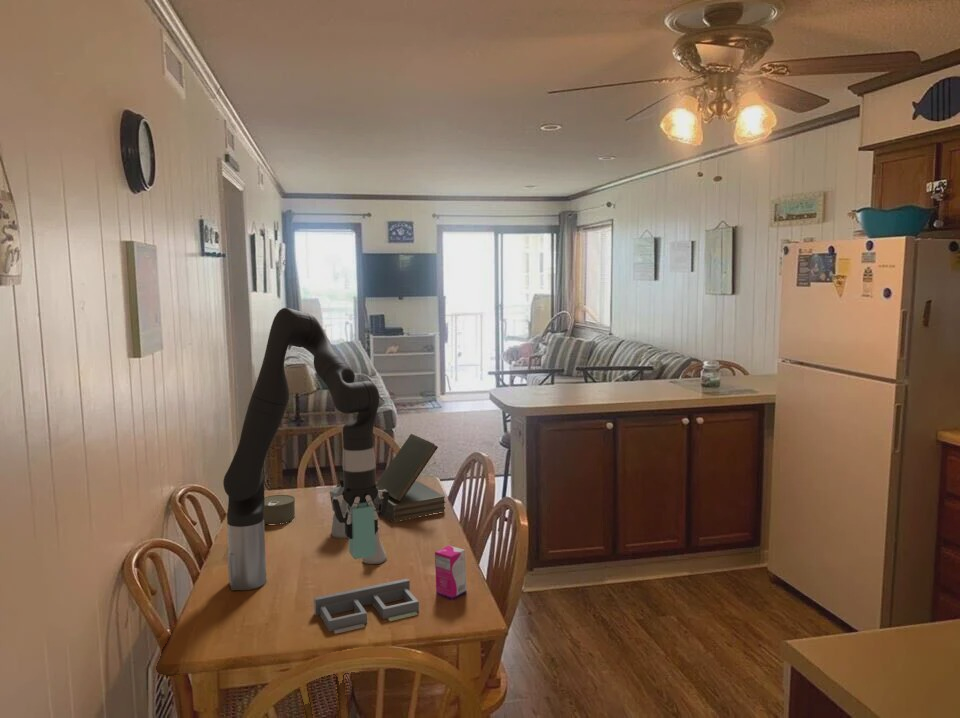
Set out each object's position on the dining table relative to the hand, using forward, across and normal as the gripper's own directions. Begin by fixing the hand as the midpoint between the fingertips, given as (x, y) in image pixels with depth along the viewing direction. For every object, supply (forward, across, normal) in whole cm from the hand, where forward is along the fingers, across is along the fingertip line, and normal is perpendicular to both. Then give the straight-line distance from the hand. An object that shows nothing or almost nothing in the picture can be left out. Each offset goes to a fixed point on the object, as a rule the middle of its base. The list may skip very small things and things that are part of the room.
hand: (361, 535), depth 162 cm
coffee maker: (+20, +10, +58) cm, 62 cm away
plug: (+4, 0, 0) cm, 4 cm away
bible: (+20, +36, +72) cm, 83 cm away
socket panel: (+20, +1, 0) cm, 20 cm away
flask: (+20, +12, +32) cm, 39 cm away
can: (+20, -8, +80) cm, 83 cm away
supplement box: (+20, +23, +2) cm, 31 cm away
